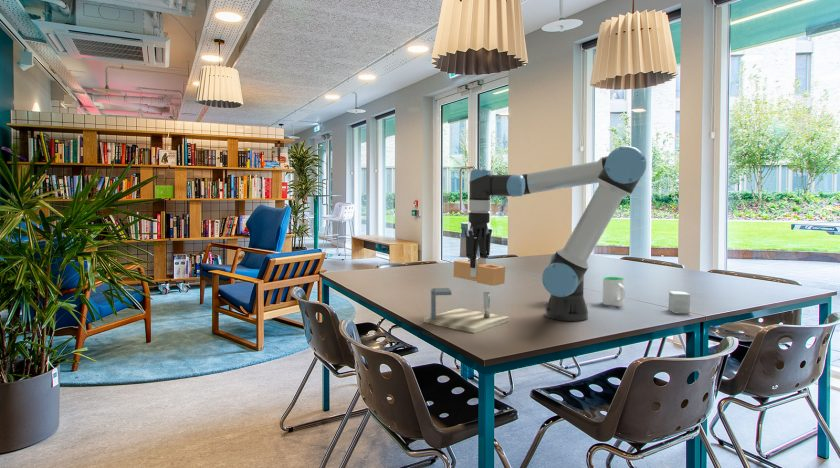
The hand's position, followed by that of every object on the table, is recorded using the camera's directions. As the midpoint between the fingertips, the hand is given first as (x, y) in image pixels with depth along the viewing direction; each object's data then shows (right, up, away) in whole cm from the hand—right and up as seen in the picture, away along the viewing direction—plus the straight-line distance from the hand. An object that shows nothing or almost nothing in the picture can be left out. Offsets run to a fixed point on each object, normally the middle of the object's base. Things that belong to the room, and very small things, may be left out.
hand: (477, 275), depth 188 cm
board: (-4, -16, -5) cm, 17 cm away
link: (0, -2, 0) cm, 2 cm away
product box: (+78, -15, +8) cm, 80 cm away
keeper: (-14, -14, -7) cm, 21 cm away
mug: (+59, -14, +21) cm, 64 cm away
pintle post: (+3, -14, -6) cm, 16 cm away
